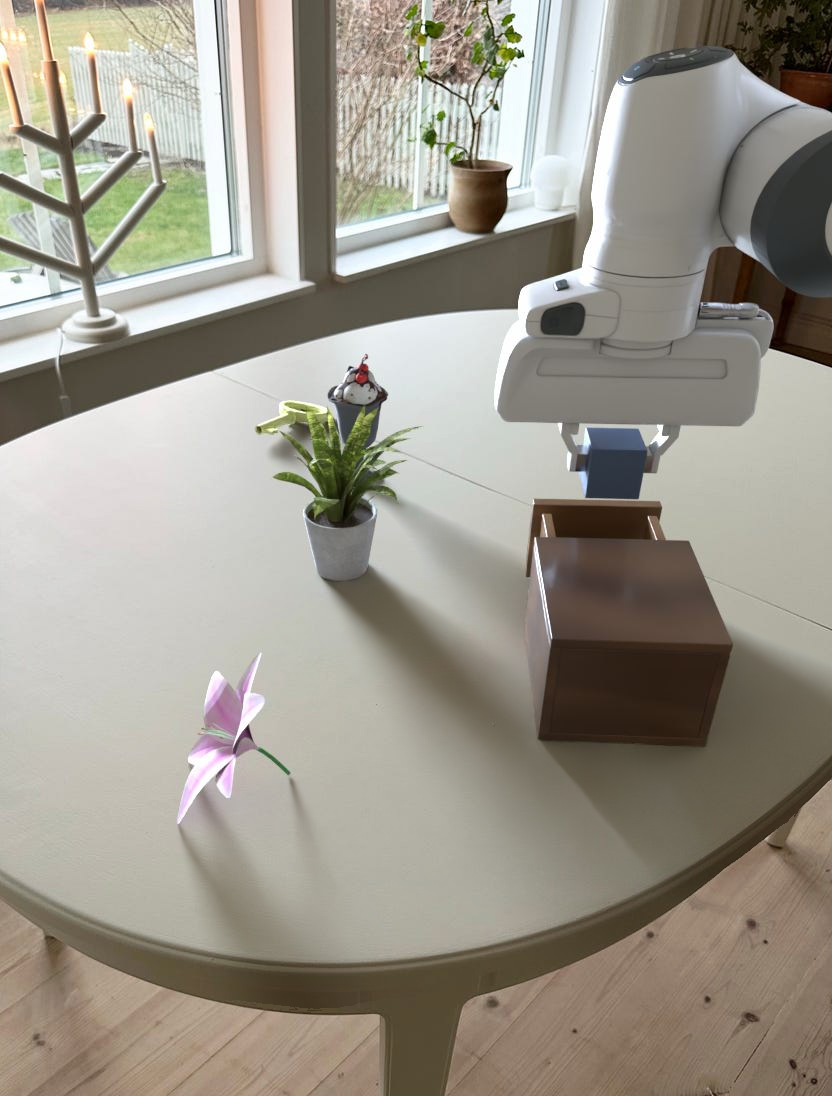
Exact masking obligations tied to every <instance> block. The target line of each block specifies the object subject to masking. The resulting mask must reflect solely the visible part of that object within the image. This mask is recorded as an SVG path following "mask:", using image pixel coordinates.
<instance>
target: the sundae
mask: <svg viewBox="0 0 832 1096" xmlns="http://www.w3.org/2000/svg"><path fill="white" fill-rule="evenodd" d="M368 359H369V354H367V353H365V354H364V357H362V359H361V362H360V364H358V366H357V367H356V366H355V367H354V366H352V365H349V366H348V368H347V370H346V373H345V376H344V379H343V381H342V382H341V383H340V384H338V385H334V386H332V387H331V388H330V389H329V390H328V392H327V395H326V397H327V400H328V402H331V403H332V404H333V405H334V406H333V407H334V409H335V414H336V420H337V427H338V428H337V429H338V434H339V438H340V440H341V442H342V443H343V445H345V443H346V441H347V438H348V436H349V434H350V432H351V430H352V428H353V426H354V424H355V422H356V420H357V417H358V415H359V413H360V412H361V410H362V408H363V406H364V405H365V416H366V415H368V414H369V413H370V412H372V411H373V410H374V409H377V408H378V409H377V413H376V415H375V417H374V418H373V420H372V422H371V428H370V435H369V437H368V439H367V441H366V443H365V445H364V447H363V449H362V450H365V449H367V448H369V447H371V446H372V445H373V444H374V443H375V441H376V440H377V435H378V430H379V423H380V422H379V421H380V416H381V415H380V414H381V410H382V405H383V403H384V402H386V401H387V400H388V397H389V392H388V391H387V390H386V389H385V388H384V387H383V386H381V385H379V383H378V382H377V381H376V379H375V376H374V373H373V372H372V371H371V370H370V367H369V365H368V364H367V363H364V362H366V361H367V360H368ZM365 416H364V418H365ZM364 458H365V455H364V456H363V457H362V458H361V459H360V460H359V461H358V462H357V463H356V466H355V469H354V471H355V470H356V469H357V467H358V466H359V465H360V463H361V462H362V461H363V459H364ZM375 471H377V470H375V469H369V471H368V472H367V474H366V476H365V477H364V479H363V481H364V480H365V479H366V478H367V477H368V476H369V475H371V474H372V473H373V472H375ZM363 481H362V482H363ZM357 482H358V481H357ZM362 482H361V483H362ZM356 484H357V483H356ZM355 486H356V485H355Z"/></svg>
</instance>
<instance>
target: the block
mask: <svg viewBox="0 0 832 1096" xmlns="http://www.w3.org/2000/svg"><path fill="white" fill-rule="evenodd" d="M584 429H585V430H584V436H583V437H584V438H583V443H582V445H586V447H587V450H588V454H589V455H588V462H587V463H586V464H587V468H586V472H578V475H579V480H580V484H581V487H582V491H583V494H584V498H585V499H601V500H639V499H640V495H641V489H642V484H643V478H644V474H645V473H644V468H645V463H646V457H647V452H648V451H647V448H646V446H647V445H646V444H645V440H644V438H643V436H642V433H641V431H640V429H639V428H632V427H631V428H630V427H585V428H584Z"/></svg>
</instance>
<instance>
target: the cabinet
mask: <svg viewBox="0 0 832 1096" xmlns="http://www.w3.org/2000/svg"><path fill="white" fill-rule="evenodd" d="M523 630H524V631H523V632H524V639H525V641H524V642H525V648H526V656H527V664H528V671H529V672H528V673H529V680H530V688H531V697H532V703H533V711H534V719H535V727H536V735H537V740H538V741H548V742H549V741H550V742H551V741H553V742H577V743H578V742H579V743H603V744H605V743H607V744H630V745H631V744H633V745H654V746H655V745H656V746H657V745H658V746H680V747H681V746H682V747H685V746H686V747H706V746H707V742H708V738H709V735H710V732H711V728H712V724H713V720H714V717H715V713H716V710H717V705H718V702H719V698H720V695H721V691H722V687H723V684H724V680H725V676H726V673H727V668H728V665H729V661H730V658H731V653H732V651H733V647H734V644H733V641H732V638H731V636H730V634H729V631H728V629H727V627H726V625H725V622H724V620H723V618H722V615H721V613H720V610H719V608H718V606H717V603H716V601H715V599H714V596H713V594H712V591H711V589H710V587H709V585H708V582H707V580H706V576H705V574H704V573H703V571H702V568H701V565H700V563H699V560H698V558H697V556H696V554H695V551H694V549H693V546H692V545H691V542H690V540H680V539H679V540H678V539H666V540H643V539H601V538H559V537H535V538H534V547H533V556H532V565H531V574H530V578H529V583H528V592H527V602H526V610H525V619H524V629H523Z"/></svg>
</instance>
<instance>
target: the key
mask: <svg viewBox="0 0 832 1096" xmlns="http://www.w3.org/2000/svg"><path fill="white" fill-rule="evenodd" d="M306 406H307V407H309V408H310V409H311V410H313V412H314V414H315V415H316V417H317V419H318V420H319V421H320V422H321V424H323V423H327V422H328V415H327V407H325V406H321V405H318V404H314V403H309V402H305V401H304V402H303V401H297V400H285V401H281V402H280V403H279V407H278V409H279V416H276V417H275V418H272V419H269V420H267V421H264V422H262V423H260V424H257V425H255V426H254V431H255V433H256V434H257V435H258V436H260V435H264V434H268V435H271V436H273V435H274V434H278V433H279V429H277V428H281V427H283V426H285V425H288V424H290V425H289V426H294V425H295V424H296V422H301V423H307V424H308V419H307V414H306V408H305V407H306ZM301 409H303V410H304V411H303V410H301Z"/></svg>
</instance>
